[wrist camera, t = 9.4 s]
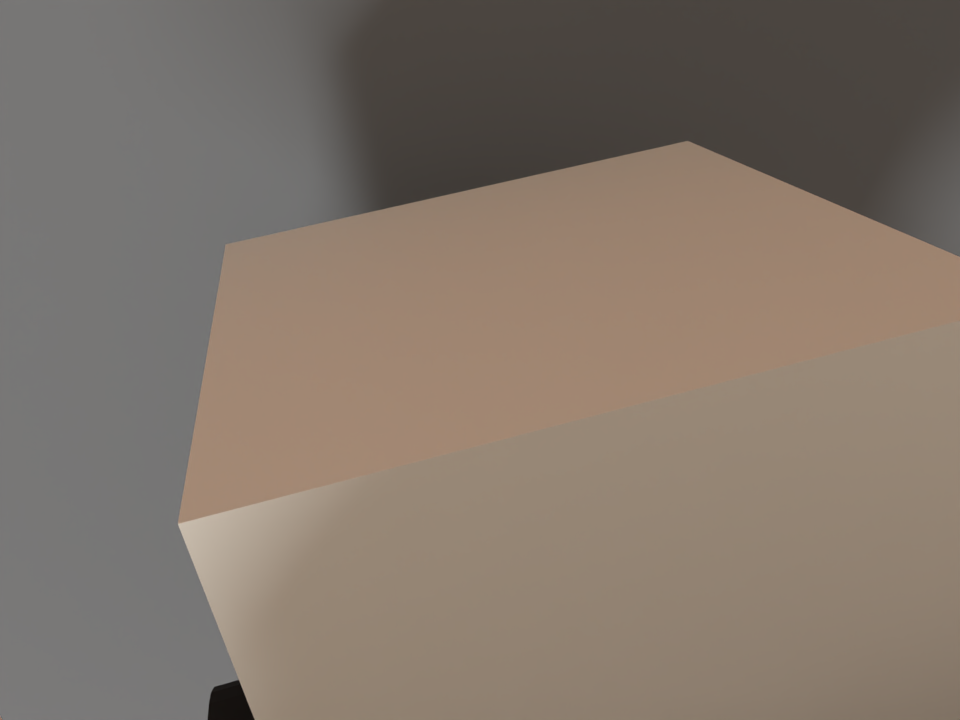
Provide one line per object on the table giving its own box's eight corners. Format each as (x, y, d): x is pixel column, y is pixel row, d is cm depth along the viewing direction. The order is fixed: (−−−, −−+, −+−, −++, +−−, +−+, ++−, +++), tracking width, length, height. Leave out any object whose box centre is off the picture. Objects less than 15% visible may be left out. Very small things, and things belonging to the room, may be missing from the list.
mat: (921, 759, 19) (933, 774, 19) (177, 1000, 17) (175, 1021, 17) (1013, -416, 10) (1039, -430, 10) (-486, -187, 8) (-520, -193, 8)
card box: (220, 245, 9) (167, 531, 4) (690, 138, 10) (1067, 296, 5) (415, 867, 13) (489, 1336, 9) (729, 768, 14) (951, 1158, 9)
